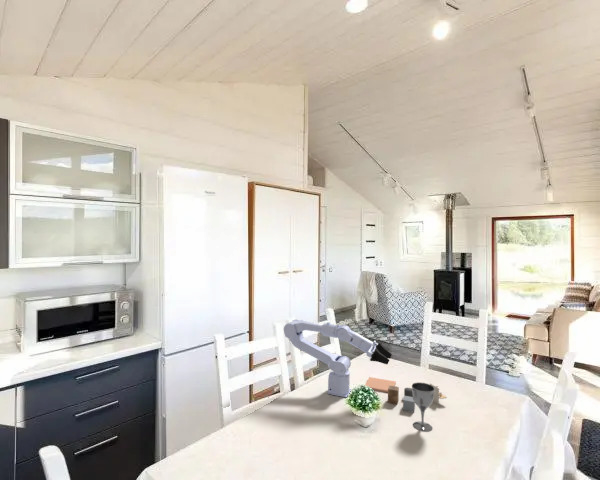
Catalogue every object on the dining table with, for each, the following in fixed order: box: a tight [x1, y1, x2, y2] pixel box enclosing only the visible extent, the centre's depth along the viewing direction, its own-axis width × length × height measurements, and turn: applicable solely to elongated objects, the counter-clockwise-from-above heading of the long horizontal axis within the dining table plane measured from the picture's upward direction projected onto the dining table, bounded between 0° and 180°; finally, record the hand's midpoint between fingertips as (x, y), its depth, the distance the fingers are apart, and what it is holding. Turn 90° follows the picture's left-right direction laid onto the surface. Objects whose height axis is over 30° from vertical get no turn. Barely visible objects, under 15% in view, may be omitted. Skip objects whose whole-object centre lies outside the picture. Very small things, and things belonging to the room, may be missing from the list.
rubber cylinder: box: [403, 387, 413, 397], centre depth 153 cm, size 4×4×4 cm
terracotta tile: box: [364, 376, 397, 394], centre depth 166 cm, size 13×12×1 cm
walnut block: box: [387, 385, 400, 405], centre depth 150 cm, size 4×4×6 cm
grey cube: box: [402, 396, 416, 413], centre depth 144 cm, size 4×4×4 cm
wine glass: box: [411, 382, 434, 433], centre depth 130 cm, size 8×8×15 cm
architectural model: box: [429, 383, 448, 405], centre depth 150 cm, size 3×7×7 cm, turn 19°
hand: (389, 359), depth 150 cm, fingers open, 7 cm apart
